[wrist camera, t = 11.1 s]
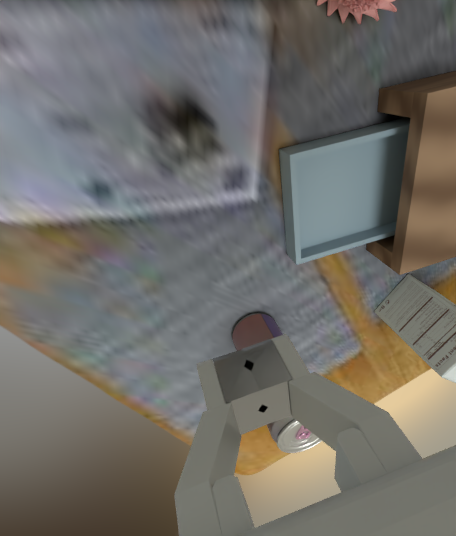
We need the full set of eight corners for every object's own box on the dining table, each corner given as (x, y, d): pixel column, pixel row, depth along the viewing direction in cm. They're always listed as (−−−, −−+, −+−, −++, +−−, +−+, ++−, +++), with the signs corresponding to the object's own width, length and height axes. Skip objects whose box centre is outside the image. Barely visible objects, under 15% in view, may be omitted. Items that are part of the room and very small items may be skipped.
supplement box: (434, 289, 49) (519, 349, 39) (399, 325, 51) (470, 391, 41) (408, 271, 45) (493, 332, 35) (371, 311, 48) (441, 379, 37)
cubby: (379, 88, 31) (427, 93, 26) (486, 63, 33) (551, 63, 28) (366, 249, 41) (399, 274, 36) (448, 224, 43) (491, 245, 38)
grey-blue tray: (278, 149, 32) (289, 155, 29) (449, 106, 34) (470, 108, 32) (286, 254, 38) (296, 264, 36) (429, 211, 41) (445, 219, 39)
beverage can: (279, 311, 43) (344, 411, 30) (266, 345, 45) (321, 450, 33) (237, 309, 41) (287, 416, 28) (226, 346, 43) (267, 458, 31)
